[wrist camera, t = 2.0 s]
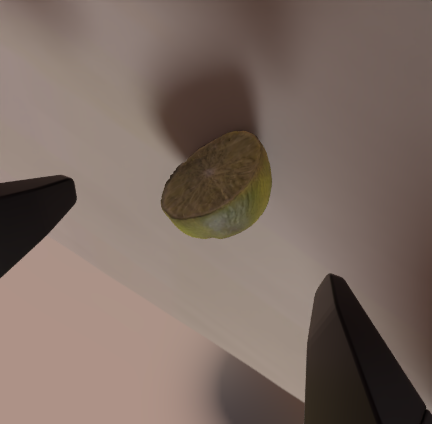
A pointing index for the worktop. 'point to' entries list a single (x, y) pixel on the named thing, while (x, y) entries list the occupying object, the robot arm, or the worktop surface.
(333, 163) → the worktop surface
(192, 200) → the lime
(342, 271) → the worktop surface
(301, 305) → the worktop surface
